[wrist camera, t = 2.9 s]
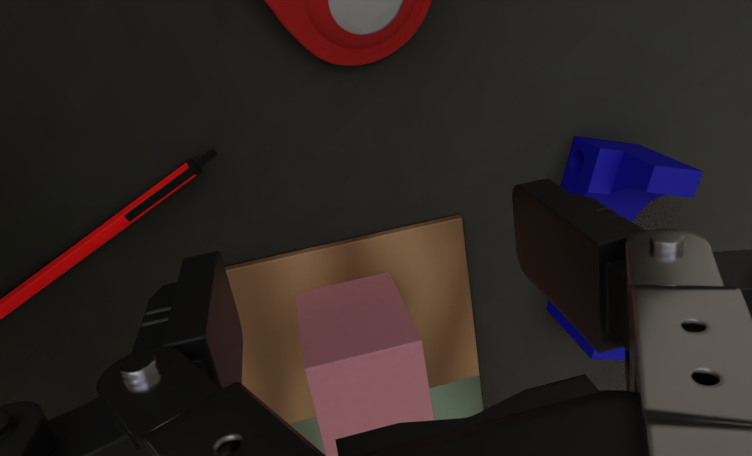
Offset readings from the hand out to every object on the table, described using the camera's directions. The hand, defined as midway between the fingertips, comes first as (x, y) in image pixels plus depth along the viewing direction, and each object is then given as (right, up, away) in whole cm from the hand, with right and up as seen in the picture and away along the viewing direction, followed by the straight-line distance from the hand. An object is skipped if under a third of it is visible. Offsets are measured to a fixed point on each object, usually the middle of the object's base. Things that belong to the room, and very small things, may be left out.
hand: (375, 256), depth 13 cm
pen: (-17, -1, +21) cm, 27 cm away
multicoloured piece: (-1, -11, +28) cm, 30 cm away
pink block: (-2, -5, +25) cm, 26 cm away
